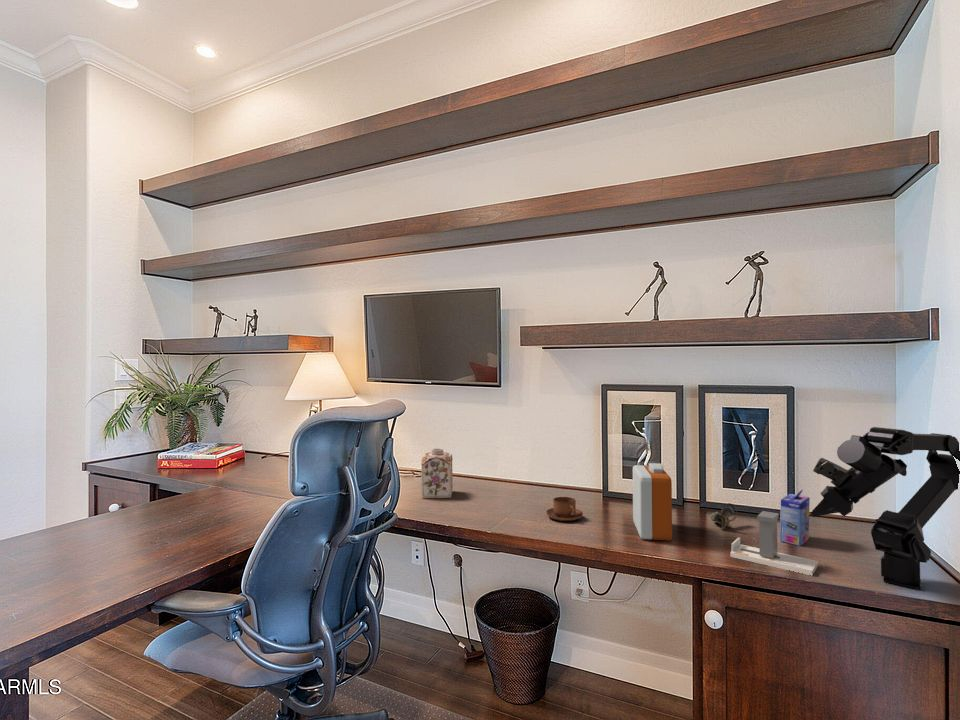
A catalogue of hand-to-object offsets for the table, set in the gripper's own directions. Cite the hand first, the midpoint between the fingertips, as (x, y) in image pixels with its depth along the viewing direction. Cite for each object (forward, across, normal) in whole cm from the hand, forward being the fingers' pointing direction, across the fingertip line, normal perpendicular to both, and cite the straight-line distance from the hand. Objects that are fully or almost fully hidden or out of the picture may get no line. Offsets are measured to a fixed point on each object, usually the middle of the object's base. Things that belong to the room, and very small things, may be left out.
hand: (812, 514), depth 121 cm
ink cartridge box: (+15, -22, +4) cm, 27 cm away
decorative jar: (+96, +12, -77) cm, 124 cm away
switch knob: (+15, 0, +2) cm, 15 cm away
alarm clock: (+39, -2, -20) cm, 44 cm away
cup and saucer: (+58, +4, -39) cm, 70 cm away
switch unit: (+16, 0, +4) cm, 16 cm away
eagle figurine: (+28, -21, -9) cm, 37 cm away
